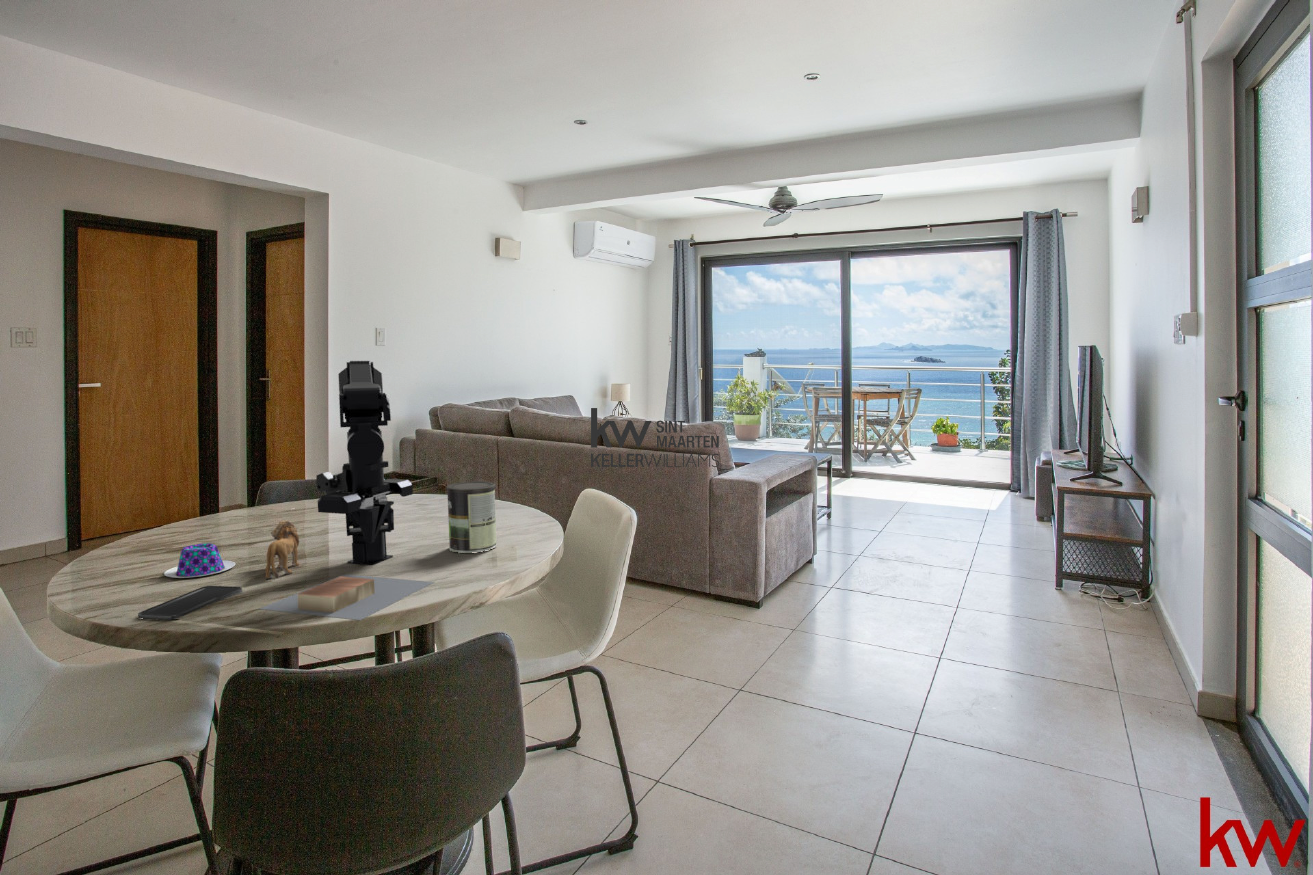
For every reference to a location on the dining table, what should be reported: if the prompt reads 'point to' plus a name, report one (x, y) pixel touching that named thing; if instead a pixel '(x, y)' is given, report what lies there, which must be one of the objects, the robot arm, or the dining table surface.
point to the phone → (189, 602)
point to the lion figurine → (282, 548)
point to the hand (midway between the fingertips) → (370, 541)
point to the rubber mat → (383, 597)
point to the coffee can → (471, 516)
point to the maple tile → (335, 594)
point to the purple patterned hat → (199, 562)
